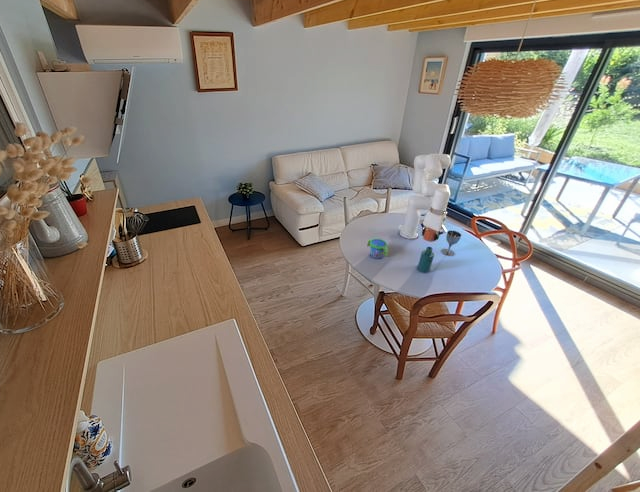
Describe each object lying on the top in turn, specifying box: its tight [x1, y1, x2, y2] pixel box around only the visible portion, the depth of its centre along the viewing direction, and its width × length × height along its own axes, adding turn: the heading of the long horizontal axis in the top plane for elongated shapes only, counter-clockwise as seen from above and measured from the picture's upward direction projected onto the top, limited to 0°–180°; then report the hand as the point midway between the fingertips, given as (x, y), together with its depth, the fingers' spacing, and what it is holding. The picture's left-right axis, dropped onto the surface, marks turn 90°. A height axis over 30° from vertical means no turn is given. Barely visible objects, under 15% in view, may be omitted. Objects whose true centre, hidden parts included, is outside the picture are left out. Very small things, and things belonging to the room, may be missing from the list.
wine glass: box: [441, 230, 462, 257], centre depth 189 cm, size 8×8×15 cm
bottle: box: [416, 246, 435, 274], centre depth 174 cm, size 7×7×16 cm
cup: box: [422, 227, 436, 243], centre depth 166 cm, size 6×6×6 cm
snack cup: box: [366, 238, 389, 259], centre depth 188 cm, size 16×10×10 cm
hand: (429, 237), depth 167 cm, fingers closed on cup, 6 cm apart
